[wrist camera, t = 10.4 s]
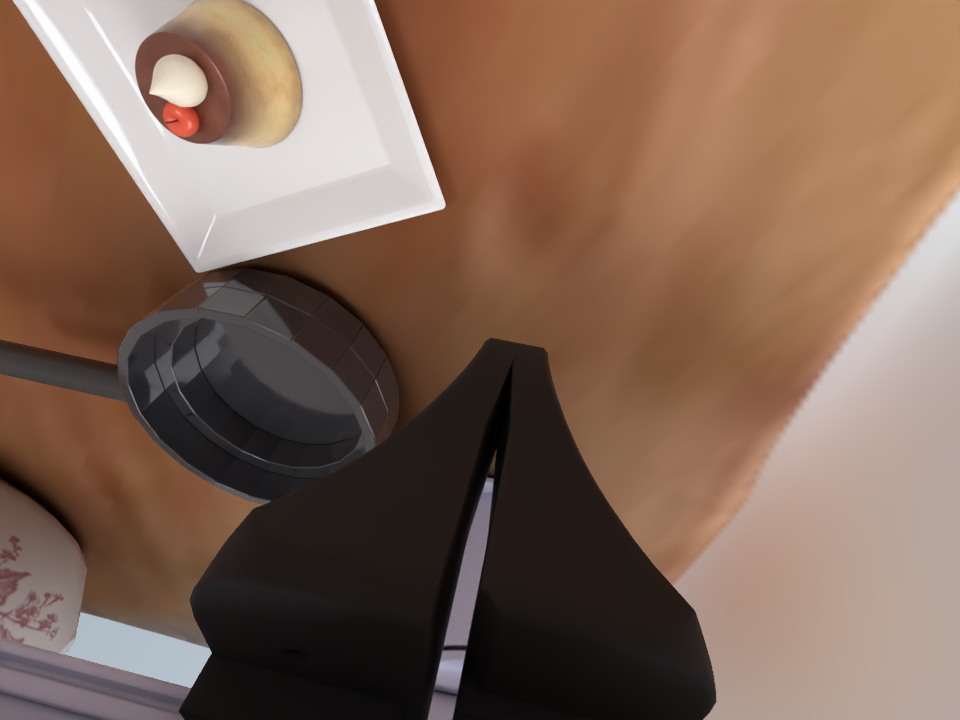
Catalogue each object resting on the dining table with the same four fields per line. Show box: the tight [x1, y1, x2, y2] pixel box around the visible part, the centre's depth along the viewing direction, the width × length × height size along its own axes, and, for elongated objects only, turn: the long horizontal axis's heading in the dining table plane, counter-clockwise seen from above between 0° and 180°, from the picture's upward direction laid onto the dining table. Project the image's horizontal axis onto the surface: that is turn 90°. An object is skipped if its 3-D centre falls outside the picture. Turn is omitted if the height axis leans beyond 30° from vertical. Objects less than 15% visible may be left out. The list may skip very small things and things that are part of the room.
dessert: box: [13, 0, 445, 273], centre depth 16 cm, size 12×12×5 cm
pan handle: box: [0, 340, 127, 402], centre depth 24 cm, size 2×8×2 cm, turn 83°
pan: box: [117, 268, 399, 504], centre depth 24 cm, size 12×12×4 cm
